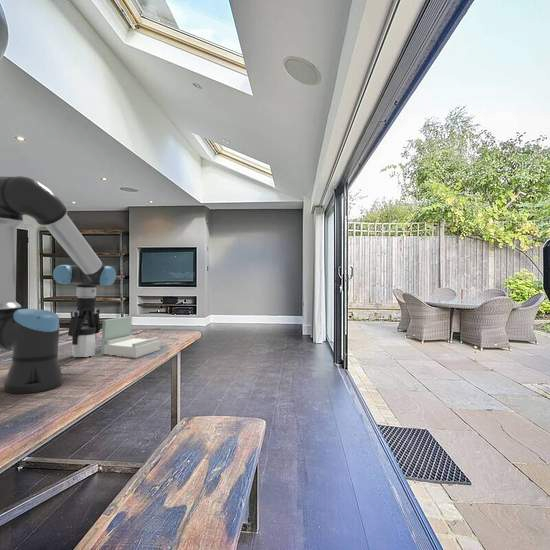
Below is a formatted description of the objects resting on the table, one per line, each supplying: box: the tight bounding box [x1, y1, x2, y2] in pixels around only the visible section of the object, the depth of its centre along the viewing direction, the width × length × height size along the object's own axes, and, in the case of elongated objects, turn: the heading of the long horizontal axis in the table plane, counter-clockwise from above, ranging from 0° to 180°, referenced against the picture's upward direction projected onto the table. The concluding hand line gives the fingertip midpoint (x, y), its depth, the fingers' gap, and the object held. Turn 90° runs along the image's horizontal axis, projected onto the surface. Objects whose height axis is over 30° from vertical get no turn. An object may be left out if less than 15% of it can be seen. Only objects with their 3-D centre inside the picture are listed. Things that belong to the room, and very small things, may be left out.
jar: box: [71, 326, 96, 358], centre depth 149 cm, size 9×8×12 cm
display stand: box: [100, 315, 161, 359], centre depth 159 cm, size 18×18×15 cm
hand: (84, 350), depth 149 cm, fingers closed on jar, 8 cm apart
